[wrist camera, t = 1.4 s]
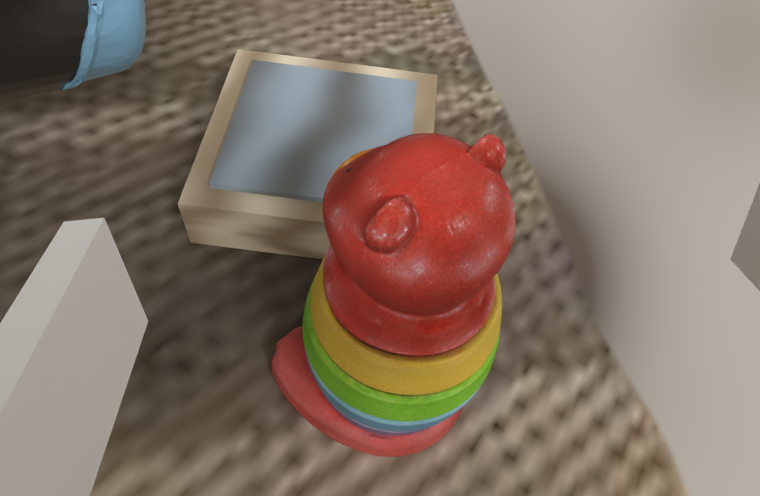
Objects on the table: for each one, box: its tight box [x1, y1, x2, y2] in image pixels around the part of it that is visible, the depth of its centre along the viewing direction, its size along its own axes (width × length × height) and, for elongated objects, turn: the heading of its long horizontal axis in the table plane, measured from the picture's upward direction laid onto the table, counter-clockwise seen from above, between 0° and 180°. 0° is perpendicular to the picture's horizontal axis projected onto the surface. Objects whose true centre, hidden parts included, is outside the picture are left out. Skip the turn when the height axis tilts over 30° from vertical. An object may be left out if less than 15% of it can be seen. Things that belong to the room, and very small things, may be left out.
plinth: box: [178, 49, 437, 259], centre depth 40 cm, size 15×15×4 cm
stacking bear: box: [271, 133, 515, 457], centre depth 26 cm, size 11×10×18 cm
